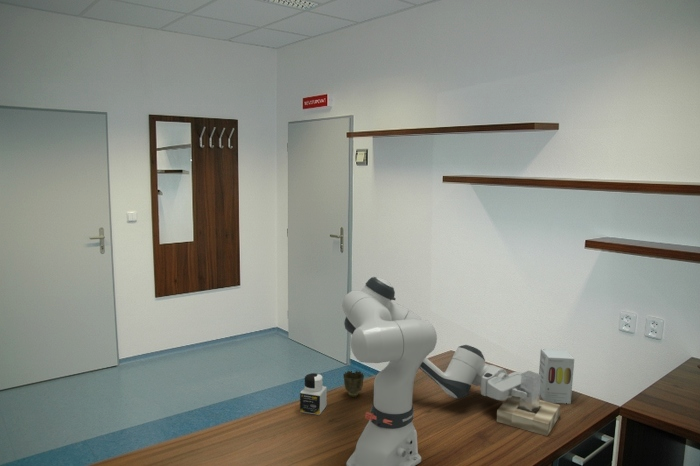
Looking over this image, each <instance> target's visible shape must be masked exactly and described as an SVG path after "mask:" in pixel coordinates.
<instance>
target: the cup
mask: <svg viewBox="0 0 700 466" xmlns="http://www.w3.org/2000/svg"><path fill="white" fill-rule="evenodd" d="M364 377H365V374H364V373H363V372H361V371H360V370H359V371H358V370H355V372H353V371H352V370H347V371H345V372H344V373H343V383H344V384H343V385H344V388H345V390H346V391H347V392H348V393H347V394H348V396H349V397H351V398H352V397H353V398H355V397H357V396H358V395H359V394H360V393H359V392H360V391H361V390H362V388H363V385H364Z"/></svg>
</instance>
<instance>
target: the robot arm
mask: <svg viewBox="0 0 700 466" xmlns="http://www.w3.org/2000/svg"><path fill="white" fill-rule="evenodd" d="M395 292H396V291H395V288H394V287H393V286H392V285H391V283H390V282H389V281H388V280H386V279H385V278H382V277H377V276H373V277H370V278H369V279H368V280H367V281H366V283H365V285H364V286H363V288H362V289H361V290H356V289H355V290H352V291H349V292H348V293H347V294H346V295H345V296H344V298H343V300H342V310H343V312H344V315H345V319H344V321H343V322H344V323H343V326H344V329H345V330H346V331H347V332H348V333H349V334H350V335H351V337H350V350H351V353H352V354H353V356H354V357H355V359H356V360H357V361H359V362H360V363H366V364H380V363H382V364H383V363H387V364H386V366H385V367H383V369H382V370H380V371H379V372H378V373H377V374H376V376H375V378H374V381H373V402H372V405H371V407H370V411H366V412H365V414H364V415H365V417H364V419H365V420H369V421H368V422H367V423H366V426H365V427H364V429H363V431H362V433H361V434H360V437H359V438H358V440H357V442H356V444H355V445H356V446H355V450H354V451H353V453H352V454H351V455H350V457H348V459H347V460H346V463H345V465H346V466H416V465H418V464H420V463H421V462H422V456H421V455H420V453H419V452H418V451H419V449H418V433H417V429H416V427H415V425H414V423H413V420H414V415H415V414H414V413H415V411H414V405H413V394H414V393H413V392H414V382H415V380H416V379H415V378H416V376H417V374H418V371H419V369H420V370H421V371H422V372H423V373H424V374H425V375H426V376H428V377H429V378H430V379H431V380H432V381H433V382H434V383H436V384H437V385H438V386H439V387H440V388H441V389H442V390H443V392H445V393H446V394H447V395H448V396H450V397H451V398H454V399H457V400H458V399H462V398H465V397H466V396H468V395H469V393H470V390H471V388H472V385H473V386H477V387H478V386H479V387H480V395H482V396H484V397H486V396H487V398H488V397H489V398H491V399H493V400H495V401H496V400H497V401H506V400H507V399H508V398H510V397H512V396H515V397H523V398H528V397H529V393H528V392H526V391H520V388H521V374H522V373H523V372H520V371H513V372H511V373H508V372H507V370H506V369H504V368H502V367H499V366H496V365H493V364H488V363H486V359H485V356H484V354H483V352H482V351H481V350H480V349H478V348H476V347H474V346H472V345H468V344H463V345H460V346H458V347H457V349H456V350H455V352H454V353H453V355H452V358H451V360H450V362H449V364H448V366H447V368H446V370H445V371H442V370H441V369H440V368H439V367H438V366H436V365H435V364H434V363H433V362H432V361H431V360H429V358H428V356H429V355H430V354H431V353H432V352H433V351H434V350H435V348H436V345H437V342H438V335H437V331H436V328H435V327H434V325H433V324H432V323H431V322H430V321H429V320H427V319H422V317H421V316H419V315H418V314H417V313H415V312H414V311H412V310H410V309H409V308H407V307H405V306H404V305H400V304H398V303H397V302H394V301H396V297H395V294H396V293H395Z"/></svg>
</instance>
